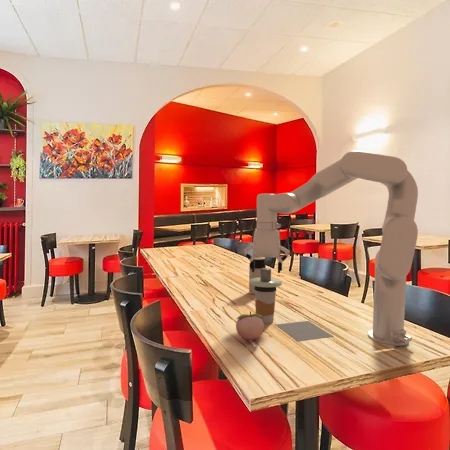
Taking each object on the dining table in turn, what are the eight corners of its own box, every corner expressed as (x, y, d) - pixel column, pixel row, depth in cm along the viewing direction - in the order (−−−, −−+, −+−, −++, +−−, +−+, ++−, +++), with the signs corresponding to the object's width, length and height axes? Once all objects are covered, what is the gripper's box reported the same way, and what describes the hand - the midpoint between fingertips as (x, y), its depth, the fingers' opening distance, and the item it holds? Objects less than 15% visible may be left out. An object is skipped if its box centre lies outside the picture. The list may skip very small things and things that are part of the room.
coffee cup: (280, 322, 134) (280, 283, 133) (267, 327, 128) (267, 287, 127) (262, 317, 140) (263, 279, 139) (249, 322, 134) (249, 283, 133)
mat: (334, 338, 119) (334, 336, 119) (297, 343, 115) (297, 341, 115) (308, 322, 134) (308, 320, 134) (275, 326, 130) (275, 324, 130)
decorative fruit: (243, 348, 110) (243, 317, 109) (232, 339, 117) (232, 309, 117) (269, 344, 114) (269, 314, 113) (257, 335, 121) (257, 306, 120)
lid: (287, 286, 129) (287, 271, 129) (257, 288, 125) (257, 273, 125) (272, 279, 140) (273, 265, 140) (244, 280, 137) (245, 267, 136)
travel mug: (257, 296, 170) (257, 259, 168) (245, 292, 176) (246, 257, 174) (268, 293, 175) (269, 257, 174) (256, 290, 181) (257, 255, 180)
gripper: (290, 226, 133) (289, 271, 134) (245, 225, 137) (244, 269, 138) (290, 228, 126) (289, 275, 127) (242, 227, 129) (241, 273, 131)
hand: (266, 272), depth 132 cm, fingers open, 9 cm apart
